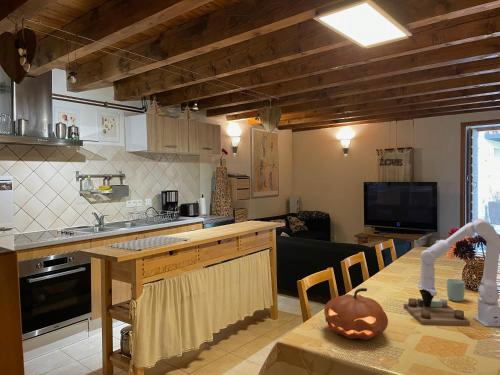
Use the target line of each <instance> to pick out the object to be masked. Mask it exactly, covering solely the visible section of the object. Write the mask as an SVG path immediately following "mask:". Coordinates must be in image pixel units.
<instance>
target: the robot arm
mask: <svg viewBox="0 0 500 375" xmlns="http://www.w3.org/2000/svg"><path fill="white" fill-rule="evenodd" d="M476 234H477V235H479V236H480V237H482V238H483V240H485V241H486V247H485V255H484V263H483V273H482V278H481V279H480V280H481V281H480V284H479V285H478V287H477V292H478V294H479V297H478V298H477V316H472V318H473V319H475V320H476V321H477V322H479V323H480V324H482V325H483V326H485V327H500V305H499V298H500V295H499V292H498V283H497V278H498V269H499V261H500V236H499V234H498V233H497V230H495V227H494V226H493V225H492V224H491V223H490V222H488V221H486V220H484V219H482V218H475V219H473V220H471V221H470V222H468V223H466V224H465V225H464V226H462V227H461V228H459V229H458V230H456V232H453V234H452V235H450V236H449V237H448V238H446V239H440V240H436V241H435V243H434V244H433V245H431V246H430V247H426V249H425V250H422V251H421V254H420V259H421V261H420V264H421V265H420V281H419V282H418V285H417V288H419V290H418V291H419V293H420V295H421V299H422V300H423V303H424V306H425V307H430V305H431V302H432V300H434V297H437V296H438V291H437V290H436V287H435V270H436V269H435V263H436V261H437V259H439V258H441V257H442V256H444V255H445V254H446V253H448V252H450V251H451V247H452V246H453V245H455V244H456V243H457V242H460V241H461V240H463V239H464V238H465V237H467V236H468V237H469V236H471V237H472V236H474V237H475V236H476Z"/></svg>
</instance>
